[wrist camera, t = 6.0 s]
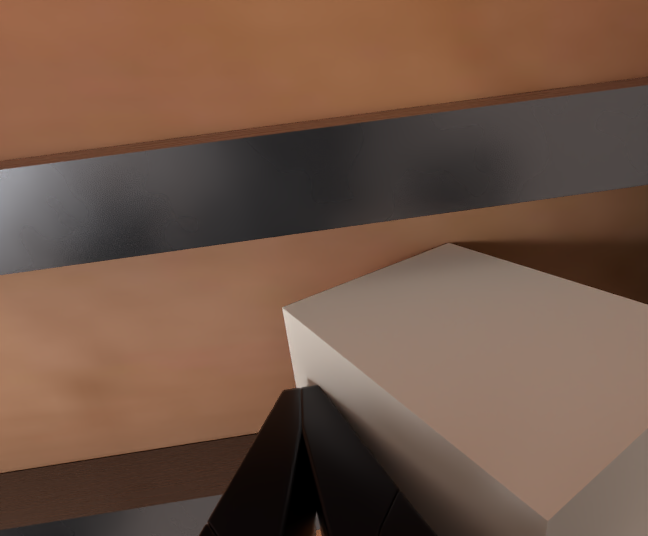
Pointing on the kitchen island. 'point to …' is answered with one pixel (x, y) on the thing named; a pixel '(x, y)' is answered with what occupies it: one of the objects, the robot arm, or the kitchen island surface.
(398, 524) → the robot arm
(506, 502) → the block
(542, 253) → the kitchen island surface
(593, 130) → the track
